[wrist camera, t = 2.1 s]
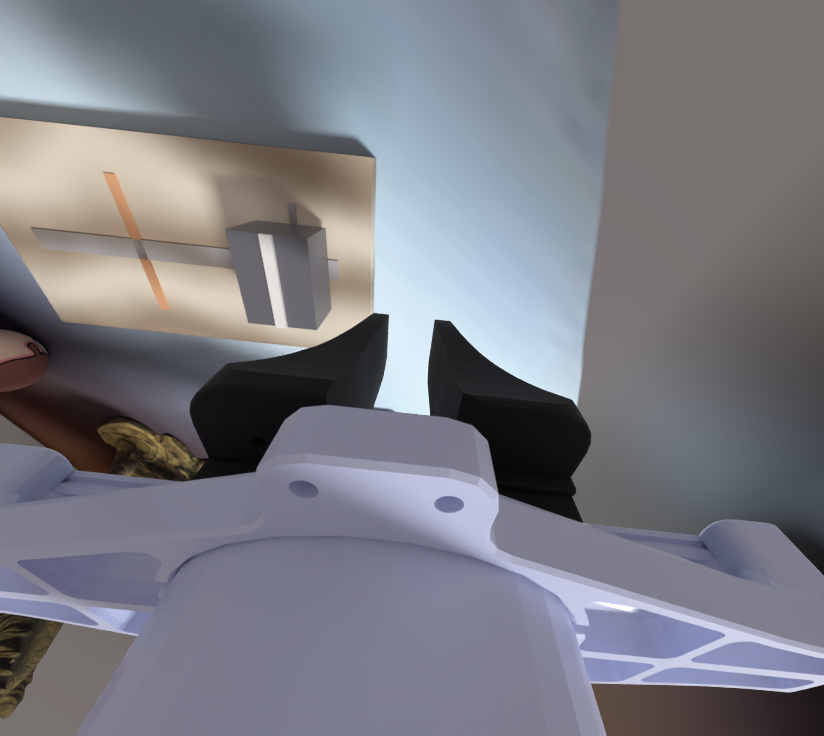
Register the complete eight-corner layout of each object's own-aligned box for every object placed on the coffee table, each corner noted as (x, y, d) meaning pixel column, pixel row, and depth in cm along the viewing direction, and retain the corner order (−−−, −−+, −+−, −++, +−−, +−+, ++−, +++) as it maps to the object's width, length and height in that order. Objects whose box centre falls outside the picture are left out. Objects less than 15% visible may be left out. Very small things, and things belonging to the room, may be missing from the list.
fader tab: (331, 309, 20) (315, 331, 17) (271, 303, 20) (246, 324, 17) (325, 227, 17) (305, 238, 14) (255, 220, 17) (222, 230, 14)
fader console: (372, 344, 23) (369, 354, 22) (82, 313, 23) (60, 322, 22) (375, 158, 16) (371, 157, 15) (-37, 113, 16) (-78, 108, 15)
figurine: (162, 402, 28) (-228, 742, 12) (300, 531, 41) (210, 781, 24) (73, 429, 31) (-339, 729, 15) (228, 542, 44) (103, 770, 27)
